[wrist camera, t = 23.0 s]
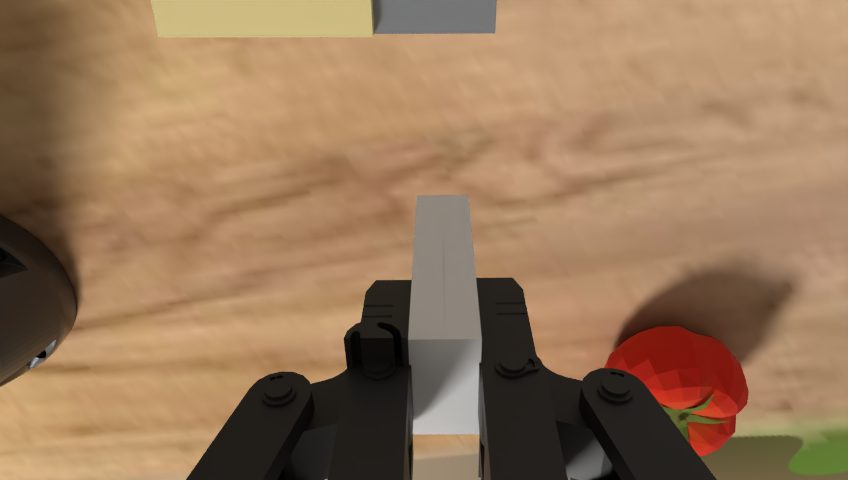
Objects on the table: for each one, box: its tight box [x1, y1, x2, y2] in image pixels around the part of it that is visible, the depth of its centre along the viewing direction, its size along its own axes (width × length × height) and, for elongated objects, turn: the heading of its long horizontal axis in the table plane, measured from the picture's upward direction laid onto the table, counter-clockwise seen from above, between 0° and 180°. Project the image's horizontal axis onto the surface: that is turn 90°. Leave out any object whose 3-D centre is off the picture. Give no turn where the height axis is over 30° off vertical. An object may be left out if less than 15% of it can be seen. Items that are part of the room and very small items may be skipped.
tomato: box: [605, 326, 748, 456], centre depth 50 cm, size 11×11×8 cm
